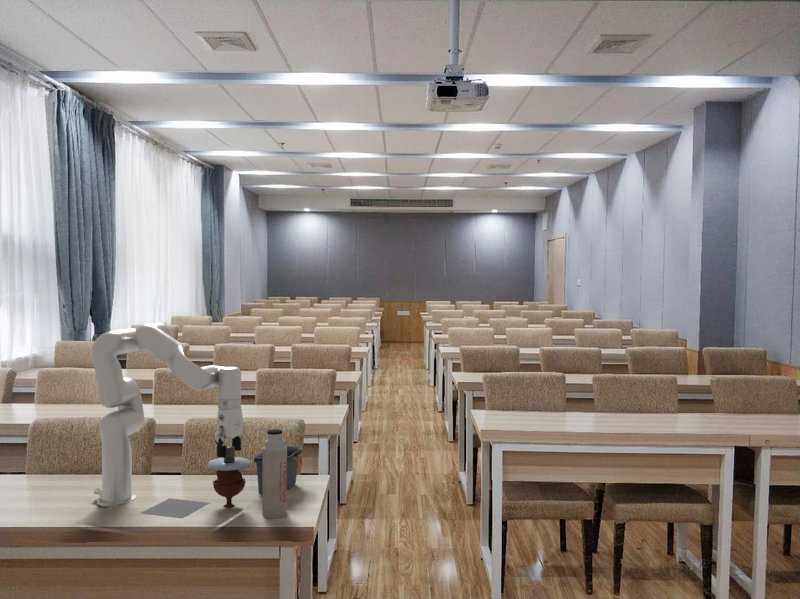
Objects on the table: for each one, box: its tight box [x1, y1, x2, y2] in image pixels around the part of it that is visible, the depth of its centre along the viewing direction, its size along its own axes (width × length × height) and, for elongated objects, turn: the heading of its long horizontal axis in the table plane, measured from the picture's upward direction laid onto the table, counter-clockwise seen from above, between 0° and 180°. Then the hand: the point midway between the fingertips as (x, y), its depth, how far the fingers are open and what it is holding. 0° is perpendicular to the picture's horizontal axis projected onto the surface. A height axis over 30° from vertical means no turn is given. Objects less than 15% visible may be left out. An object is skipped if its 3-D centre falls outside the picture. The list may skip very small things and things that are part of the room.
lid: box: [207, 445, 251, 471], centre depth 227 cm, size 14×14×6 cm
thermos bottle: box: [261, 428, 288, 519], centre depth 223 cm, size 8×8×28 cm
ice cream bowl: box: [212, 469, 246, 509], centre depth 227 cm, size 11×11×15 cm
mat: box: [140, 497, 210, 519], centre depth 225 cm, size 16×16×1 cm
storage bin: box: [252, 444, 303, 495], centre depth 249 cm, size 21×16×14 cm
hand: (229, 453), depth 227 cm, fingers open, 9 cm apart
